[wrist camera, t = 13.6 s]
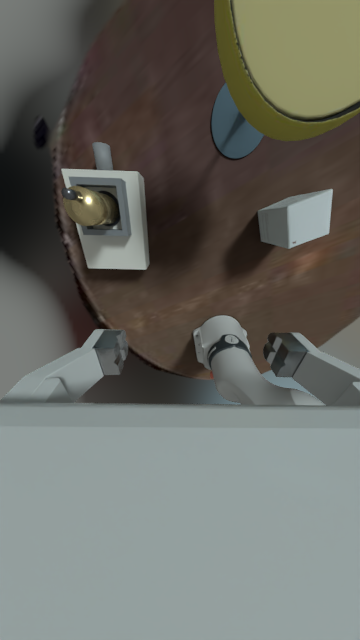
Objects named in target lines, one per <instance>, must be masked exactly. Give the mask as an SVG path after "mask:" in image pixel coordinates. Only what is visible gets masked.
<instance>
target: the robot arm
mask: <svg viewBox="0 0 360 640" xmlns="http://www.w3.org/2000/svg"><path fill="white" fill-rule="evenodd" d="M196 335H198V336H196ZM193 336H194V342H195V349H196V355H197V360H198V362H200V363H203V364H204V367H205V368H207V369H210V370H212V372H210V377H211V378H214V382H215V386H216V389H217V391H218V392H219V394H220V395H221V396H222V397H223V398H225V399H226V400H229V401H232V402H237V403H241V405H230V404H229V405H228V404H225V405H224V404H129V403H126V404H125V403H74V402H75V401H76V400H77V399H78V398H80V397H81V396H82V395H83V394H84V393H85V392H86V391H87V390H88V389H90V388H91V387H92V386H93V385H94V384H95V383H96V382H97V381H98V380H99V379H101V378H102V377H103V376H104V375H120V373H121V370H122V368H123V365H124V364H123V361H124V360H125V359H126V357H127V354H128V343H127V342H126V341H125V338H126V333H125V331H124V330H111V329H96V330H94V332H93V333H92V334H91V335H90V337H89V338H88V339H87V341H86V342H85V343H84V345H83V346H82V347H81V348H77V349H76V350H74V351H72V352H70V353H68V354H66V355H64V356H62V357H60V358H58V359H57V360H55V361H53V362H51V363H49V364H47V365H45V366H43V367H41V368H40V369H38V370H36V371H34V372H32V373H30V374H28V375H26V376H24V377H23V378H22V379H21V380H20V381H19V382H18V383H17V384H16V385H15V386H14V387H13V388H12V389H11V390H10V391H9V392H8V393H7V394H6V395H5V396H4V397H3V398H2V399H1V400H0V640H360V369H358V368H356V367H354V366H352V365H350V364H347V363H345V362H343V361H341V360H339V359H337V358H335V357H333V356H331V355H328V354H326V353H324V352H320V351H319V350H318V349H317V348H316V347H315V346H314V345H312V344H311V343H310V342H309V341H308V340H307V339H306V338H305V337H304V336H303V335H302V334H300V333H270V334H269V335H268V338H267V339H268V341H269V342H268V343H266V344H265V346H264V348H263V354H264V358H265V359H266V361H267V362H269V363H270V364H271V366H270V367H271V369H272V371H273V372H274V373H275V375H276V377H292V378H293V379H294V380H295V381H296V382H298V383H299V384H300V385H301V386H303V387H304V388H305V389H307V390H308V391H309V392H310V393H312V394H313V395H314V396H315V397H317V398H318V399H319V400H320V401H319V400H318V399H316V398H315V397H313V396H311V395H310V394H308V393H305V392H303V391H300V390H297V389H290V388H283V387H279V386H276V385H274V384H272V383H270V382H268V381H267V380H266V379H265V378H264V377H263V376H262V375H261V374H260V372H259V371H258V369H257V368H256V366H255V364H254V362H253V361H252V356H251V353H250V350H249V344H248V341H247V339H246V336H247V332H246V331H245V330H244V329H243V328H241V326H240V324H239V323H238V321H237V320H236V319H234V318H232V317H230V316H216V317H213V318H210V319H209V320H207V321H206V322H205V323H204V324H203V325H202V326H201V327H199V328H197V329H195V330H194V331H193ZM321 401H322V402H323V403H324V404H325V405H324V404H323V403H322V402H321Z"/></svg>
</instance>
